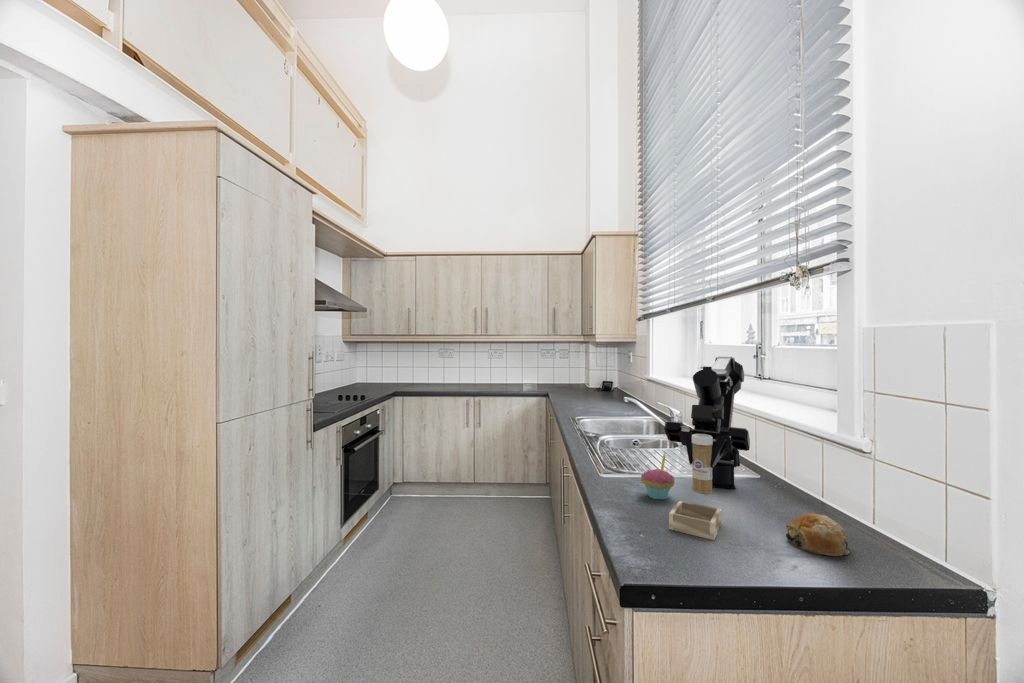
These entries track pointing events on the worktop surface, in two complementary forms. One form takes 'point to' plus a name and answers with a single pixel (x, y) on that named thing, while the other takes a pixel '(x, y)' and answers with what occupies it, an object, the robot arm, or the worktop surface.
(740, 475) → the worktop surface
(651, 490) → the cupcake
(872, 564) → the worktop surface
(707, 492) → the sprinkles bottle
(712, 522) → the box
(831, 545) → the bread roll
